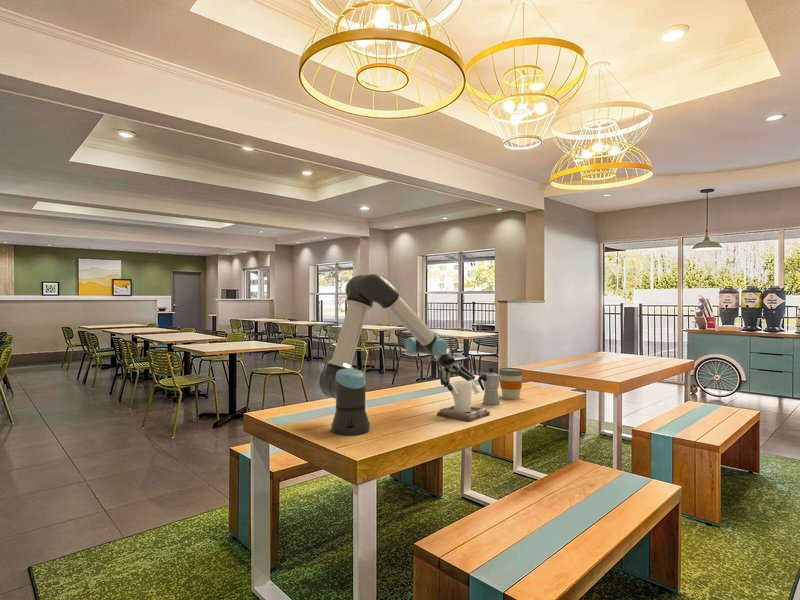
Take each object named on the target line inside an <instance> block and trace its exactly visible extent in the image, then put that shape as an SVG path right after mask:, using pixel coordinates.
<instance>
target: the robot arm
mask: <svg viewBox="0 0 800 600" xmlns="http://www.w3.org/2000/svg"><path fill="white" fill-rule="evenodd" d="M345 295H346V299H345V302H346V305H347V308H346V312H345V315H344V318H343V321H342V325H341V327H340V332H339V334H338V339H337V341H336V345H335V347H334V352H333V355H332V358H331V359H330V360H328V361H327V362H326V366H325V368H324V369H322V370H321V371H320V372H319V375H318V376H317V377H318V378H317V386H318V389H319V391H320V392H321V393H322V394H324V395H325V396H326V397H329V398H332V399H335V412H334V416H333V418H332V423H331V426H330V427H331V428H330V431H331V433H333V434H336V435H342V436H353V435H354V436H356V435H361V434H366V433H368V432H370V431H371V430H370V428H371V426H370V424H371V423H370V422H369V418H368V414H367V411H366V391H367V390H366V385H367V380H366V374H365V373H364V371H362V370H359V369H354V367H353V365H352V363H353V362H354V361H353V360H354V357H355V353H356V350H357V347H358V344H359V343H358V342H359V340H360V337H361V334H362V329H363V327H364V323H365V319H366V317H367V313H368V311H370V310H372V307H373V304H374V303H377V304H378V305H379V306H380V307H381V308H382V309H384V310H385V309H387V310H388V312H390V314H391V315H393V317H394V318H395V319H396V320H397V321H398V322H399V323H400V325H402V326H403V327H404V328H405V329H406V330H407V332H408V333H409V334H411V337H408V338H406V340H405V342H404V345H405V346H404V347H405V350H406V352H407V353H408V354H425V355H431V356H434V358H435V359H436V362H437V363H438V367H437V370H438V373H439V377H440V379H439V380H440V384H441V386H443V387H445V388H447V389H448V391H449V392H450V393H451V395H452V397H454V398H456V397H457V396H458V395H459V394H458V392H457V391H456V389H455V387H454V386H453V384H452V382H453V381H451V376H452V375H456V376H460V377H461V378H462V379H464V381H472V392H474V394H475V395H478V394H479V392H481V390H480V388H479V387H478V386H477V383H476V381H475V379H476V376H475V375H474V374H473V373H472V372H470V370H468V369H467V368H466V367H465V366H464V365H463V363H461V362H459V363H458V364H457V363H456V359H455V358H454V356H453V354H452V353H451V351H450V350H449V347H448V342H447V341H446V339H443V338H442V337H441V336H440V334H439V333H438V332H437V330H435V329H433V328H432V329H431V328H430V327H429V326H427V324H426V323H425V322H424V321H423V320H422V318H421V317H419V315H417V314H416V312H415V311H414V310H413V309H412V308H411V307H410V306H409V305H408V303H407V302H405V300H403V298H402V297H401V293H400V291H399V290H398V289H397V288H396V287H395V286H394V285H393V284H392V283H391V282H390V281H389V280H387V279H386V278H385V277H383V276H382V275H380V274H377V273H371V274H359V275H356V276H353V277H351V278H350V279H349V280H348V281H347V283H346V285H345ZM450 381H451V382H450ZM454 398H453V399H454Z"/></svg>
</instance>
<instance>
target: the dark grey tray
mask: <svg viewBox="0 0 800 600" xmlns="http://www.w3.org/2000/svg"><path fill="white" fill-rule="evenodd" d="M490 415H491V411H489V410H488V409H487V408H484V407H479V406H473V405H471V409H470V411H469V412H456V408H455V404H454V405H451V406H446V407H443V408H441V409H440V410H439V411H437V413H436V416H438V417H442V418H448V419H453V420H458V421H463V422H468V423H470V422H473V421H476V420H479V419H481V418H485V417H487V416H490Z"/></svg>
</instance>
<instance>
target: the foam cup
mask: <svg viewBox="0 0 800 600" xmlns="http://www.w3.org/2000/svg"><path fill="white" fill-rule="evenodd" d="M451 382H452V384H453V386H454V387H455V389H456V391H457V392H458V394H459V395H458V396H457V397H456V398H454V397H453V396H452V397H453V402H454V405H455V408H456V412H469V411H470V409H471V406H472V392H473V390H472V381H467V380H456V381H451Z"/></svg>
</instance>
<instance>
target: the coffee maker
mask: <svg viewBox="0 0 800 600" xmlns="http://www.w3.org/2000/svg"><path fill="white" fill-rule="evenodd" d="M488 370H489V372H486V373H482V374H481V375H479V376H478V379H477V382H478V384H479V386H480V388H481V390H482V391H484V395H483V400H482V401H483V402H482V404H483V405H487V406H499V405H500V398H499V390H498V389H499V388H500V387H499V386H500V376H501V375H500V374H499V373H495V372H494V367H488ZM482 381H483V383H482Z"/></svg>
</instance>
